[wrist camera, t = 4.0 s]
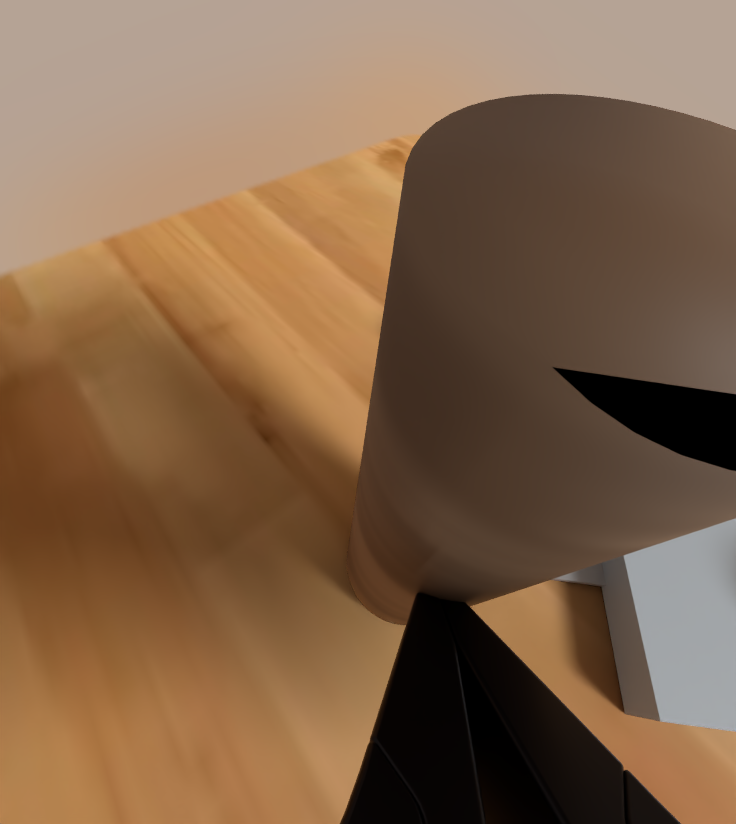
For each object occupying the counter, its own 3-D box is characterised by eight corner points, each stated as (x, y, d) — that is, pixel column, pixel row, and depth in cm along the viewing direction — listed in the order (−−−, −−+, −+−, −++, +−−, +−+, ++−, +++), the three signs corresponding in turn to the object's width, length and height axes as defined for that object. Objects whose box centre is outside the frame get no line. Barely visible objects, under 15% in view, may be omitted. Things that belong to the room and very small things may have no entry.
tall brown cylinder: (534, 460, 16) (945, 69, 5) (590, 554, 15) (1400, 248, 4) (332, 524, 14) (333, 107, 3) (368, 644, 13) (638, 585, 1)
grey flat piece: (942, 756, 13) (1216, 804, 9) (418, 685, 13) (457, 701, 9) (754, 385, 20) (854, 322, 17) (432, 339, 20) (455, 265, 16)
